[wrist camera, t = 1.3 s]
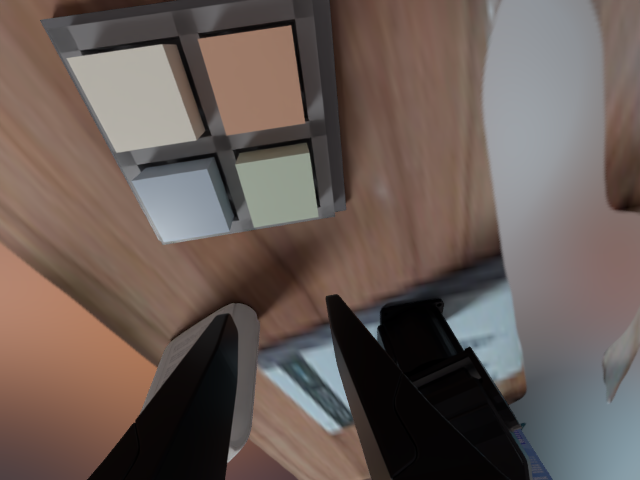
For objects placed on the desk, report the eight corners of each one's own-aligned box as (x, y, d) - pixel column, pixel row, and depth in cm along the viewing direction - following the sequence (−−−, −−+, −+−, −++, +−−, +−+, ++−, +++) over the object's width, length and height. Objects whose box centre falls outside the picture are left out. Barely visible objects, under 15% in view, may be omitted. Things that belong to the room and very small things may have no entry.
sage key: (306, 142, 17) (309, 152, 15) (315, 202, 19) (318, 217, 18) (239, 153, 17) (235, 164, 15) (256, 212, 19) (254, 227, 17)
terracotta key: (289, 27, 14) (290, 25, 12) (302, 115, 16) (305, 123, 14) (207, 40, 14) (197, 39, 12) (232, 126, 16) (226, 135, 14)
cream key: (176, 44, 14) (161, 44, 12) (205, 130, 16) (196, 140, 14) (92, 56, 14) (66, 58, 12) (133, 141, 16) (116, 152, 14)
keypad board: (325, -19, 15) (332, -29, 13) (344, 205, 22) (350, 220, 20) (50, 21, 14) (14, 16, 12) (162, 234, 22) (151, 253, 20)
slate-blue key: (214, 156, 17) (207, 168, 15) (233, 215, 19) (229, 231, 17) (146, 167, 17) (131, 180, 15) (174, 225, 19) (164, 242, 17)
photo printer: (194, 362, 31) (151, 519, 20) (159, 344, 28) (92, 509, 18) (267, 317, 28) (260, 470, 18) (235, 293, 26) (206, 453, 16)
